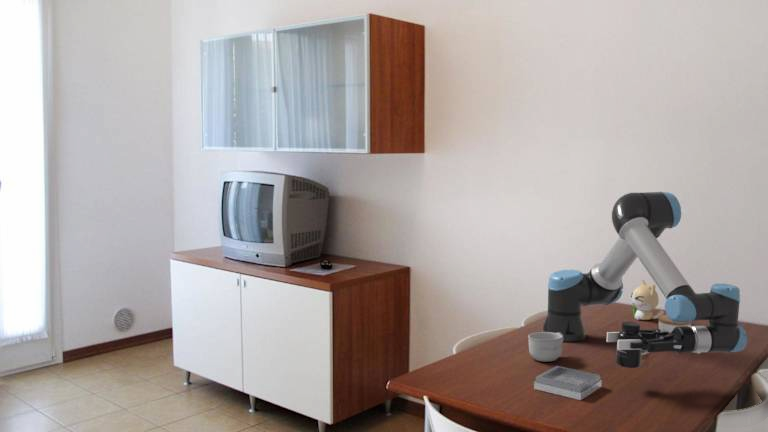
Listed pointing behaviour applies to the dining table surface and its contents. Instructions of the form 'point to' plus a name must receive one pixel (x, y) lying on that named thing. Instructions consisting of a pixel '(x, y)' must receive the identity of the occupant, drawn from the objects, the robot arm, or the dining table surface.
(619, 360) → the supplement bottle
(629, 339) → the robot arm
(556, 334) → the teacup
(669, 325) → the lidded jar
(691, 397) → the dining table surface
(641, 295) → the kitten
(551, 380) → the shadow box frame
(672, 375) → the dining table surface
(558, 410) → the dining table surface
